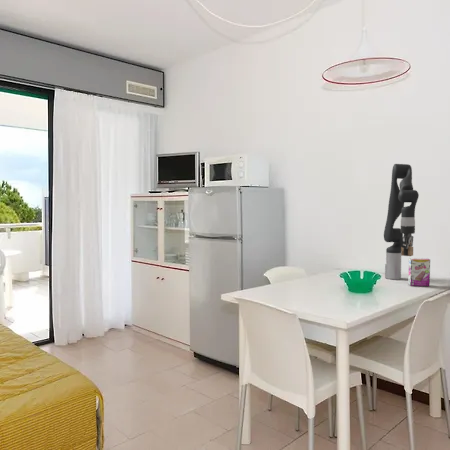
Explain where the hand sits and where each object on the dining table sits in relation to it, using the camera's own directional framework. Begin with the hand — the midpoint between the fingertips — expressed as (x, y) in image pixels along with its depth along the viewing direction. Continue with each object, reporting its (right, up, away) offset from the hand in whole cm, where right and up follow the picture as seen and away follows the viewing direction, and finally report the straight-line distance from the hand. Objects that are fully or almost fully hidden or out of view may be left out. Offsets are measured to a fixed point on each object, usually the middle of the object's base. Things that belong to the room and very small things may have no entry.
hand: (407, 254), depth 241 cm
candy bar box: (+12, -20, +12) cm, 26 cm away
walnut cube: (0, 0, 0) cm, 0 cm away
